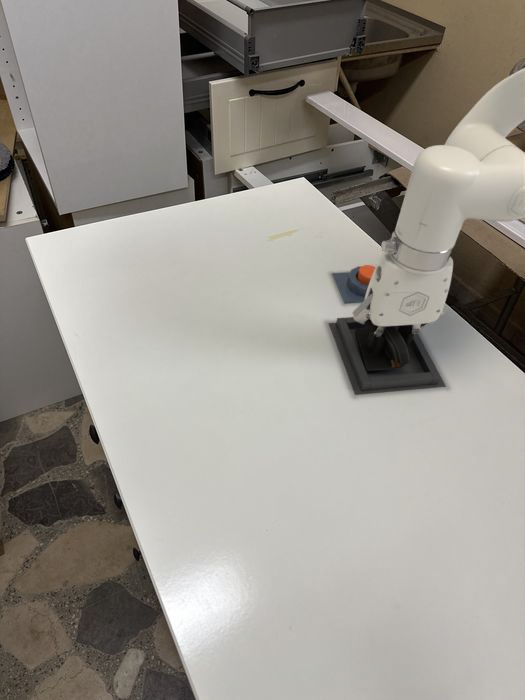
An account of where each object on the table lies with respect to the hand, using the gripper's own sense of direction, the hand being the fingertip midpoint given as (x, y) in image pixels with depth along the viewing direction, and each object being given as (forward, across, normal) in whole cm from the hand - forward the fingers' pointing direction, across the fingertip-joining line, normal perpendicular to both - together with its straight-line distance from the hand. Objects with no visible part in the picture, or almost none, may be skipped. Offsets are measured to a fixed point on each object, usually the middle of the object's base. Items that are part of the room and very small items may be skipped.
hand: (387, 347), depth 80 cm
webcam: (+1, -1, 0) cm, 1 cm away
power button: (0, +2, +16) cm, 16 cm away
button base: (+2, +2, +16) cm, 16 cm away
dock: (+2, 0, 0) cm, 2 cm away
